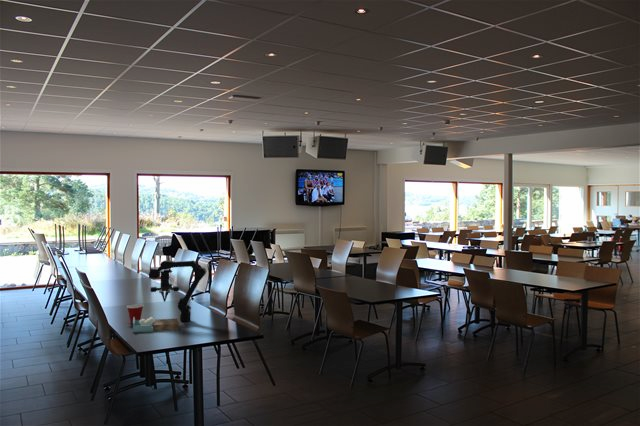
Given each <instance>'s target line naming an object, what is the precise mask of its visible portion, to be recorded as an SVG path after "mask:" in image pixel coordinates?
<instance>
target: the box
mask: <svg viewBox="0 0 640 426" xmlns="http://www.w3.org/2000/svg"><path fill="white" fill-rule="evenodd" d="M147 319H148V318H147ZM147 319H144V320H145V321H146V320H147ZM140 320H141V319H140ZM140 320H135V317H133V324H132V333H133V334H134V333H152V332H154V331H153V323H152V324H151V325H142V326H141V325H140V323H139V321H140Z"/></svg>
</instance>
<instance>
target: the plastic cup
mask: <svg viewBox="0 0 640 426" xmlns="http://www.w3.org/2000/svg"><path fill="white" fill-rule="evenodd" d="M144 306H145V305H144V304H141V303H136V304H135V303H134V304H129V305H127V306H126V308H127V310H128V311H127V312H128V317H129V322H130V324H132V325H133V317H135V320H141V319H142V313H143V308H144Z"/></svg>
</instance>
